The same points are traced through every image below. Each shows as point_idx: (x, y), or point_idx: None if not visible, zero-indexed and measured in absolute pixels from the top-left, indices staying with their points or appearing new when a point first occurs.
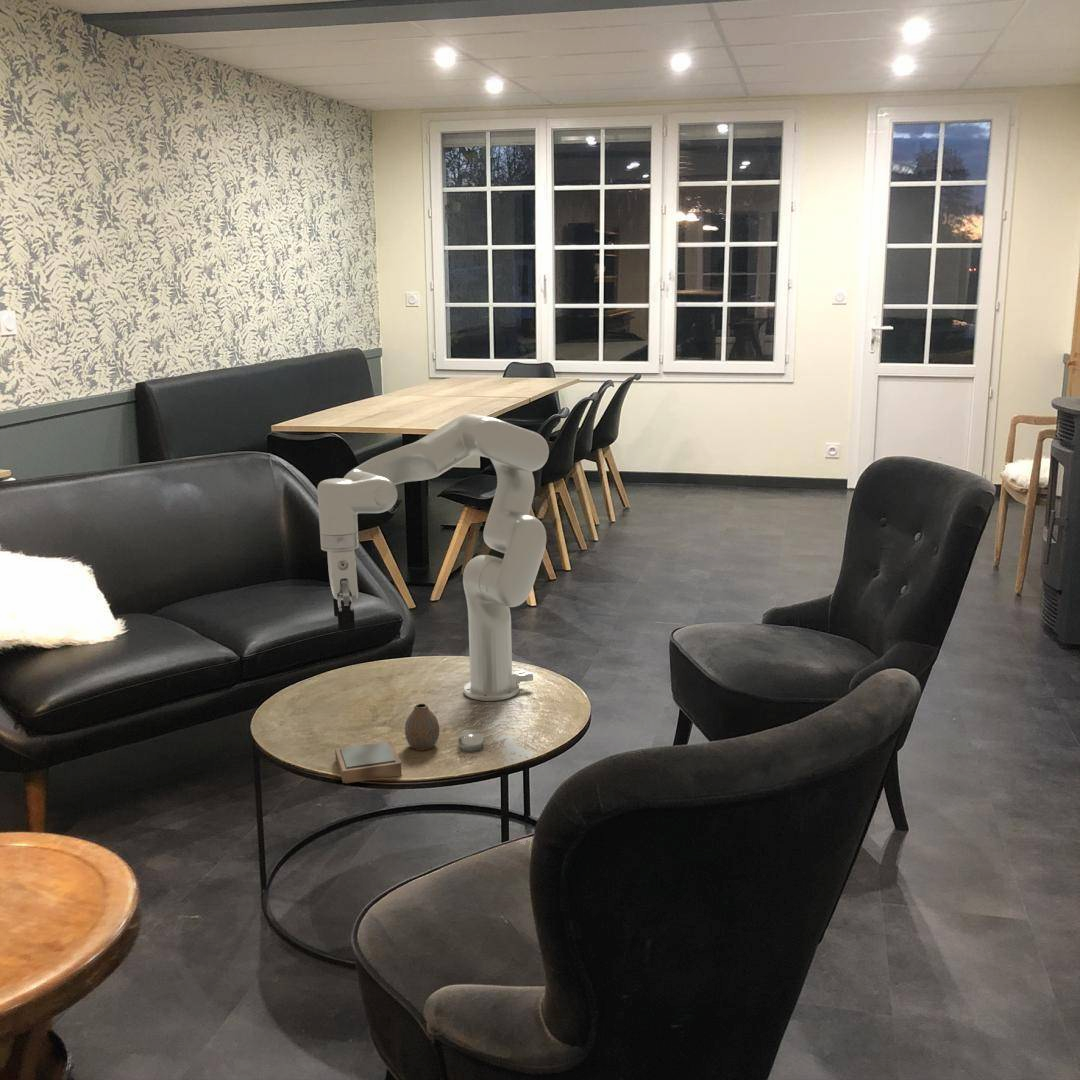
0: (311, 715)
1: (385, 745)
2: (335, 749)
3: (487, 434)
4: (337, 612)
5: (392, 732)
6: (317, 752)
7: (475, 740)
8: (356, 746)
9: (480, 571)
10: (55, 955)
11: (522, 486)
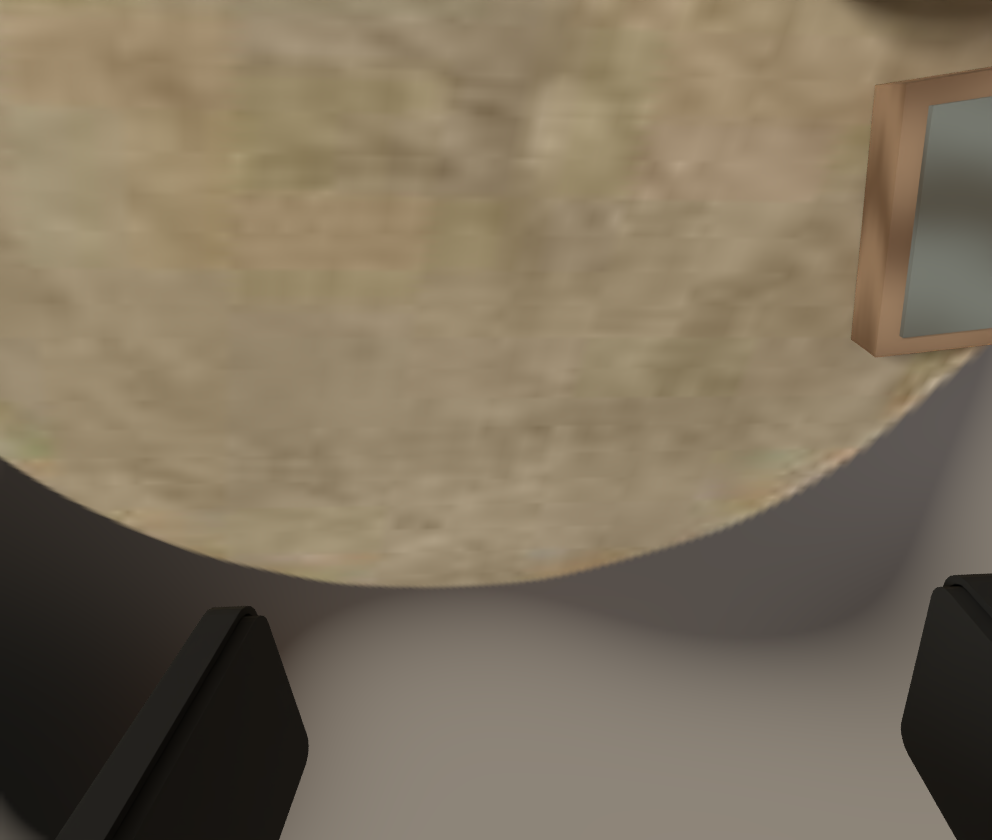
0: (352, 430)
1: (978, 116)
2: (886, 355)
3: None
4: (283, 773)
5: (619, 73)
6: (738, 405)
7: None
8: (917, 265)
9: None
10: None
11: None
